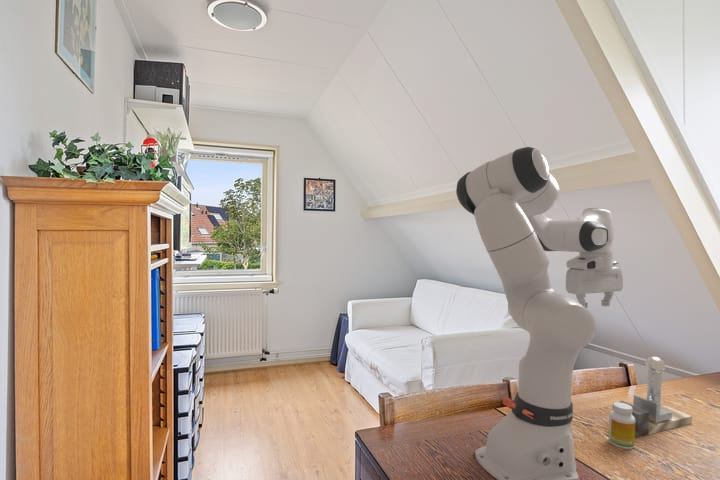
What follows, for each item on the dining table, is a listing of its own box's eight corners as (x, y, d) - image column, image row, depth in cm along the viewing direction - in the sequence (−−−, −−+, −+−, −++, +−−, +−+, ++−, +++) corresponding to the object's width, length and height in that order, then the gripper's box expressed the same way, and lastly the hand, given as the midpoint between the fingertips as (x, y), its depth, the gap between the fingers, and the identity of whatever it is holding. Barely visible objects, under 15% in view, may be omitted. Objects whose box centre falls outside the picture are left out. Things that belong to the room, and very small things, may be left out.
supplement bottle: (638, 451, 96) (640, 411, 96) (613, 448, 97) (615, 409, 97) (628, 439, 101) (629, 402, 101) (604, 436, 102) (606, 399, 102)
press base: (638, 437, 102) (639, 414, 102) (612, 424, 109) (612, 403, 108) (691, 423, 110) (692, 402, 110) (664, 411, 117) (665, 391, 116)
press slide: (655, 423, 105) (658, 361, 105) (633, 412, 111) (635, 354, 110) (671, 418, 108) (674, 359, 107) (648, 409, 113) (651, 352, 113)
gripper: (610, 260, 127) (608, 302, 128) (562, 262, 120) (561, 307, 121) (629, 261, 122) (628, 306, 122) (580, 264, 114) (579, 311, 115)
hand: (594, 307), depth 121 cm, fingers open, 8 cm apart
